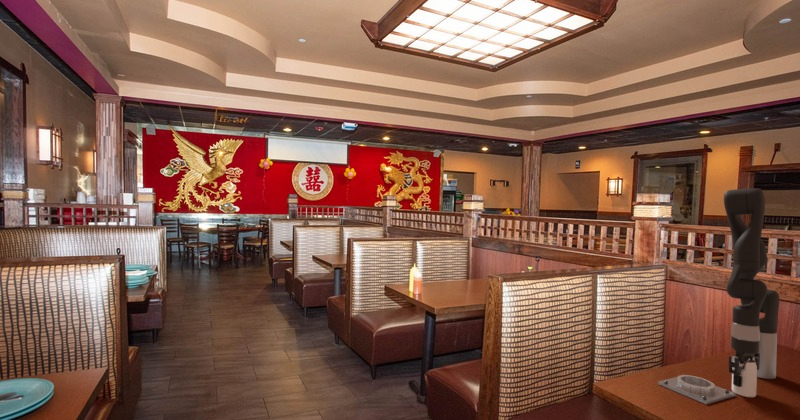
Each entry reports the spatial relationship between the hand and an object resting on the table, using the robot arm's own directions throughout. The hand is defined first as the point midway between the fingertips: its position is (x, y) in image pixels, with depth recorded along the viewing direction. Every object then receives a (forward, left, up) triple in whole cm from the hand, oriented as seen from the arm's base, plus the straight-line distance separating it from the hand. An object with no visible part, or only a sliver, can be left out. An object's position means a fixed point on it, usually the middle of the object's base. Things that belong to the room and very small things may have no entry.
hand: (743, 383), depth 139 cm
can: (0, 0, -4) cm, 4 cm away
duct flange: (+13, -8, -3) cm, 16 cm away
